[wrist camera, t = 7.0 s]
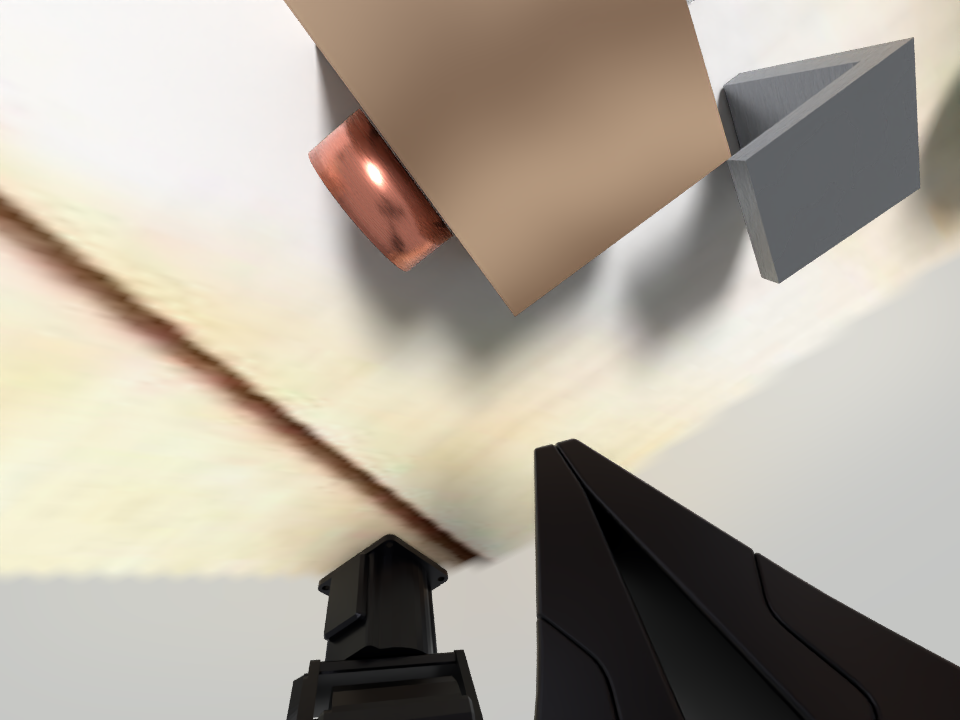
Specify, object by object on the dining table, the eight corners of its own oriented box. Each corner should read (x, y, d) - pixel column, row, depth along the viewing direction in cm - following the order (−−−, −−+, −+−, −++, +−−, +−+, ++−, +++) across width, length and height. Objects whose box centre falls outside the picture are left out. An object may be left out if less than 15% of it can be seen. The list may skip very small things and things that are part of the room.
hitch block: (617, 152, 18) (731, 156, 12) (475, 262, 19) (515, 316, 13) (495, -125, 13) (584, -352, 7) (314, 42, 14) (259, -33, 8)
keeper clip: (765, 175, 20) (920, 187, 14) (669, 244, 21) (778, 283, 15) (739, 73, 17) (913, 37, 12) (632, 156, 18) (745, 160, 12)
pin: (706, 13, 15) (825, -36, 11) (405, 253, 16) (410, 288, 12) (662, -149, 12) (791, -287, 8) (320, 150, 14) (294, 153, 10)
